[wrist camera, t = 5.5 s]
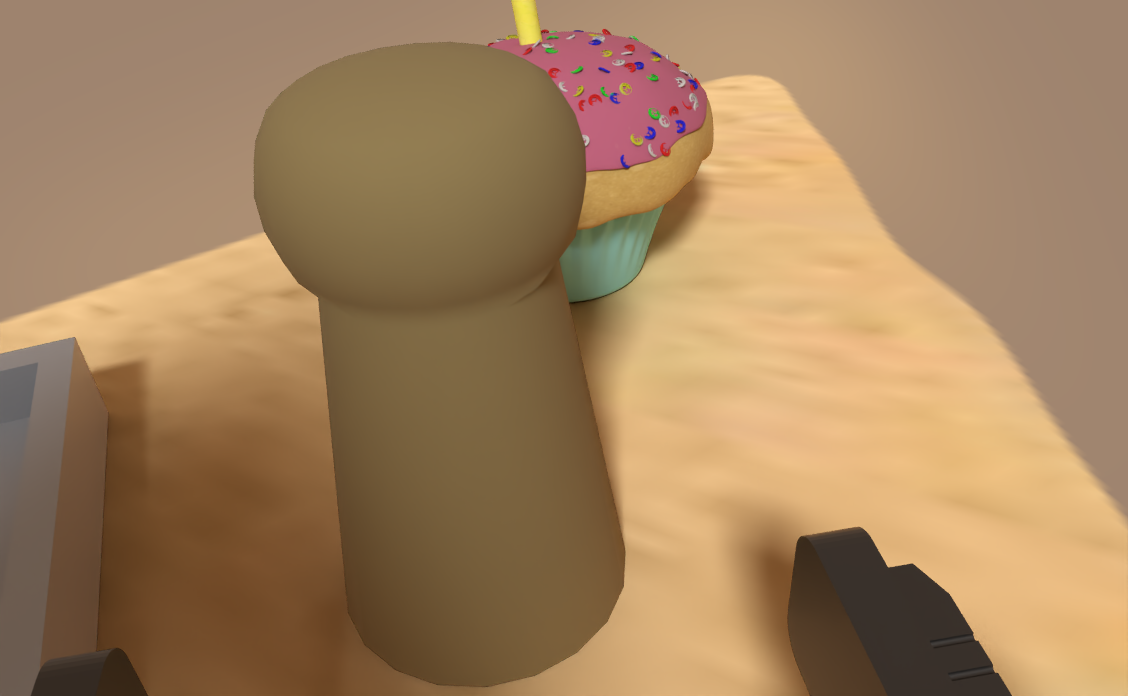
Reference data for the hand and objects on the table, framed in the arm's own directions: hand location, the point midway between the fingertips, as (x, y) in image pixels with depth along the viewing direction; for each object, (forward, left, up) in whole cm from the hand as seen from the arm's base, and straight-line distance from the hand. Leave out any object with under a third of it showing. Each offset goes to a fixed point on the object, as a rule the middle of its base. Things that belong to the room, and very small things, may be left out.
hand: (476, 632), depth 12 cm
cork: (+1, +7, -7) cm, 9 cm away
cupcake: (+7, +18, -7) cm, 20 cm away
